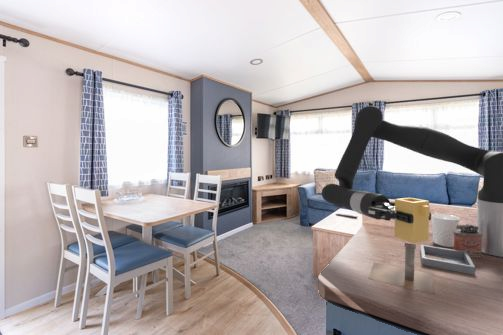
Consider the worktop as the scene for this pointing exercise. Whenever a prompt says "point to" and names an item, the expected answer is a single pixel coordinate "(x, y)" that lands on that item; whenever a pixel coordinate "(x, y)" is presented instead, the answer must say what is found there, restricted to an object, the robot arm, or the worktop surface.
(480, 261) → the worktop surface
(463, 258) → the tray
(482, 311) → the worktop surface
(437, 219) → the white cup
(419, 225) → the yellow open box
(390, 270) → the board
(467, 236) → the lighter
